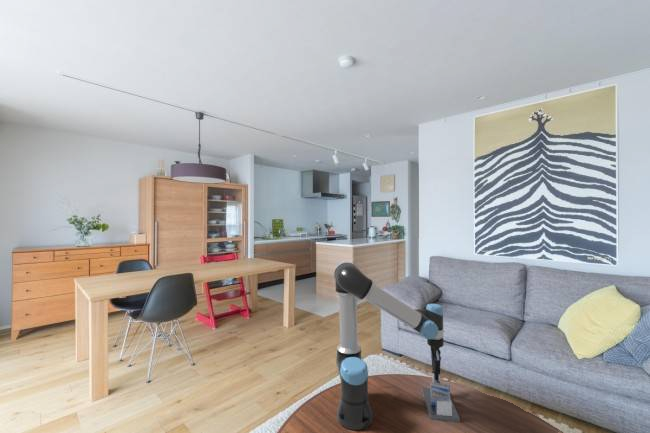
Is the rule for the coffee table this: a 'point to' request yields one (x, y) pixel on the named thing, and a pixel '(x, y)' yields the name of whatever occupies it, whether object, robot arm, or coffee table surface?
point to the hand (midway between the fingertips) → (436, 385)
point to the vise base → (433, 410)
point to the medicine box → (439, 391)
